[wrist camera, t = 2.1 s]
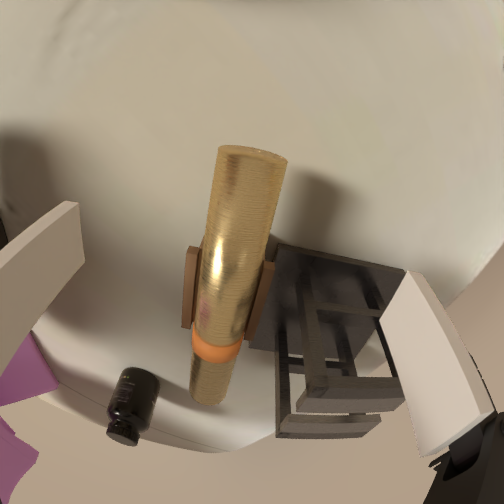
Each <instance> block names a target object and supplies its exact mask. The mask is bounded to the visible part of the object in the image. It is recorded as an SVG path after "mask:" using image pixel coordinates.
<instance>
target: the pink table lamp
mask: <svg viewBox="0 0 504 504" xmlns="http://www.w3.org/2000/svg"><path fill="white" fill-rule="evenodd" d="M58 386H59V382H58V381H57V379H56V378H55V376H54V374H53V373H52V371H51V369H50V368H49V366H48V364H47V363H46V361H45V359H44V357H43V356H42V354H41V352H40V350H39V348H38V346H37V345H36V343H35V341H34V339H33V337H32V335H31V333H30V332H29V333H28V335H27V336H26V338H25V339H24V341H23V342H22V343H21V345H20V346H19V348H18V349H17V351H16V353H15V354H14V356H13V357H12V359H11V360H10V362H9V364H8V365H7V367H6V368H5V370H4V372H3V373H2V375H1V377H0V406H4V405H7V404H11V403H14V402H18V401H21V400H24V399H27V398H31V397H34V396H37V395H40V394H43V393H47V392H50V391H53V390H56V389H57V388H58ZM14 435H15V432H14V431H13V430H12V429H11V428H10V426H9V425H8V424H7V423H6V422H5V421H4V420H3V419H2V417H1V416H0V499H1V502H2V504H8V502H9V499H10V495H11V493H12V492H13V490H14V488H15V486H16V485H17V483H18V482H19V480H20V479H21V478H22V477H23V475H24V474H25V473H26V472H27V471H28V470H29V469H30V468H31V467H32V466H33V465H34V464H35V462H36V460H37V457H38V454H39V452H38V451H37V450H35V449H34V448H32V447H31V446H30V445H28V444H27V443H25V442H24V441H22V440H20V439H19V438H17V437H16V436H14Z"/></svg>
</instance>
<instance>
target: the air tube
mask: <svg viewBox="0 0 504 504" xmlns="http://www.w3.org/2000/svg"><path fill="white" fill-rule="evenodd" d="M287 163H288V161H287V160H286V159H285V158H284V157H282V156H279V155H277V154H274V153H271V152H268V151H265V150H261V149H256V148H251V147H245V146H236V145H224V146H220V147H219V148H218V154H217V159H216V165H215V171H214V177H213V183H212V190H211V196H210V202H209V209H208V216H207V223H206V230H205V237H204V245H203V252H202V260H201V268H200V276H199V285H198V294H197V303H196V313H195V321H194V324H193V332H192V358H191V371H190V386H189V391H190V394H191V396H192V397H193V399H194V400H196V401H197V402H199V403H201V404H204V405H215V404H218V403H220V402H221V401H222V400H223V399H224V398H225V396H226V393H227V389H228V386H229V382H230V379H231V375H232V371H233V368H234V364H235V361H236V357H237V355H238V353H239V350H240V347H241V343H242V340H243V336H244V328H245V324H246V320H247V317H248V313H249V309H250V305H251V302H252V298H253V294H254V290H255V287H256V283H257V279H258V275H259V272H260V268H261V264H262V260H263V256H264V253H265V249H266V245H267V241H268V237H269V233H270V230H271V226H272V222H273V218H274V214H275V210H276V206H277V202H278V198H279V194H280V191H281V187H282V183H283V179H284V175H285V171H286V167H287Z"/></svg>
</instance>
